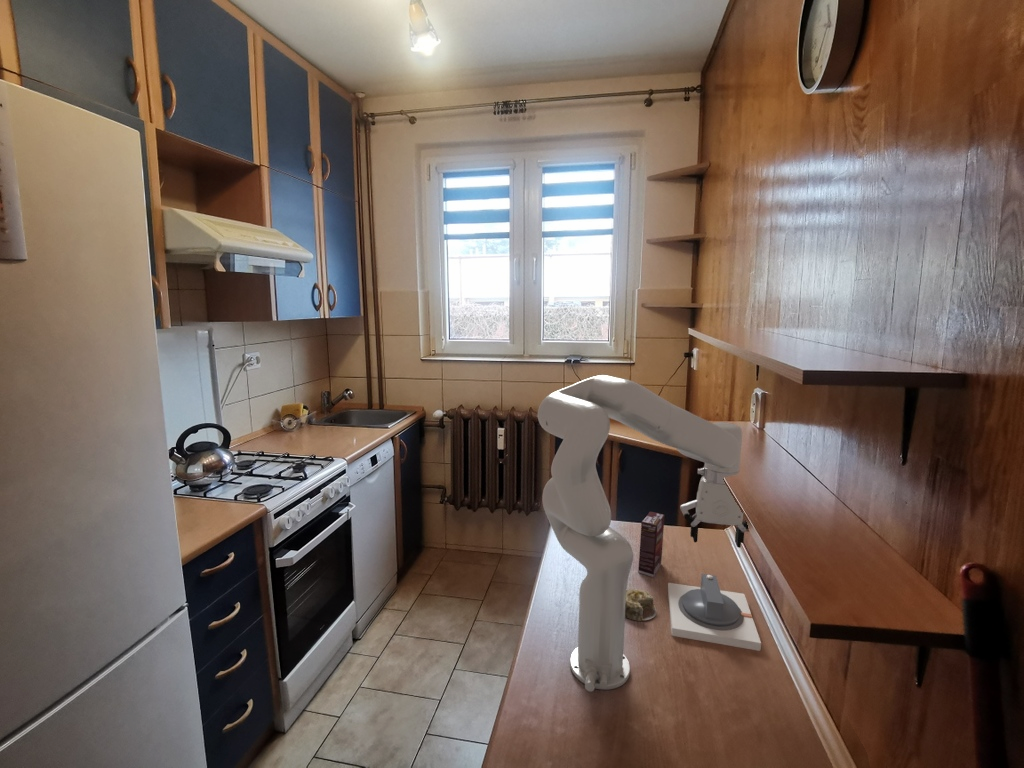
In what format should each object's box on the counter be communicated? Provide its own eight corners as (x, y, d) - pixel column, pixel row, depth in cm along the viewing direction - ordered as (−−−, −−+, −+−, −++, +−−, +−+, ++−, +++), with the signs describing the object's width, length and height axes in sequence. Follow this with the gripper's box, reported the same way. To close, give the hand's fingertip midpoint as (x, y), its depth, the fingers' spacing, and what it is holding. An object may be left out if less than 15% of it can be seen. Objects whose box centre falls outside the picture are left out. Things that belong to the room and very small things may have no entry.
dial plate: (760, 651, 108) (761, 641, 107) (671, 635, 113) (672, 626, 112) (743, 600, 126) (744, 592, 126) (667, 589, 131) (668, 581, 130)
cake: (610, 615, 121) (609, 595, 121) (625, 596, 129) (625, 577, 129) (648, 627, 116) (648, 606, 115) (662, 606, 124) (661, 587, 123)
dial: (744, 630, 111) (746, 606, 110) (684, 620, 114) (686, 597, 113) (733, 597, 123) (735, 575, 122) (680, 589, 127) (682, 568, 126)
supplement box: (654, 578, 136) (657, 525, 133) (637, 573, 139) (640, 521, 136) (662, 564, 143) (665, 514, 141) (646, 559, 146) (648, 510, 143)
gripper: (683, 477, 112) (679, 545, 115) (765, 484, 107) (758, 555, 110) (681, 466, 119) (677, 530, 122) (757, 472, 114) (751, 539, 117)
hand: (716, 542), depth 116 cm, fingers open, 9 cm apart
